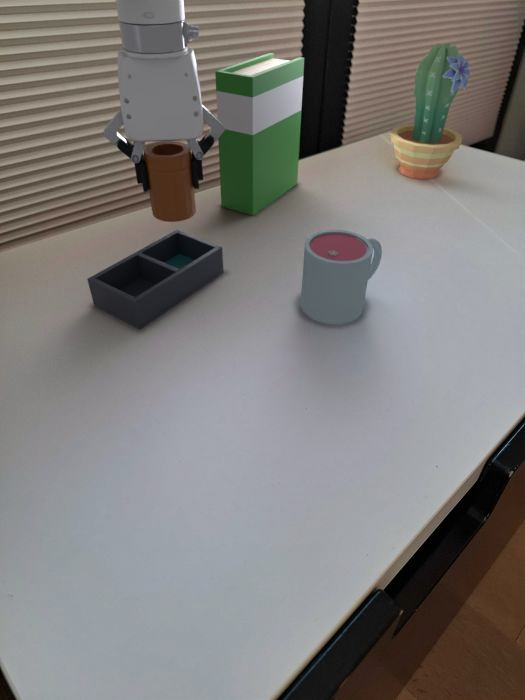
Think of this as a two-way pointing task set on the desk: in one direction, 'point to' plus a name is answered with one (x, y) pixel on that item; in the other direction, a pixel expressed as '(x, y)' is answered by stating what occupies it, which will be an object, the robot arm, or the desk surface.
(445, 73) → the potted cactus
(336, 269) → the mug
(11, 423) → the desk surface
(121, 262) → the divided tray
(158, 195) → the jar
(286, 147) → the hardback book
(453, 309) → the desk surface
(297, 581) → the desk surface
